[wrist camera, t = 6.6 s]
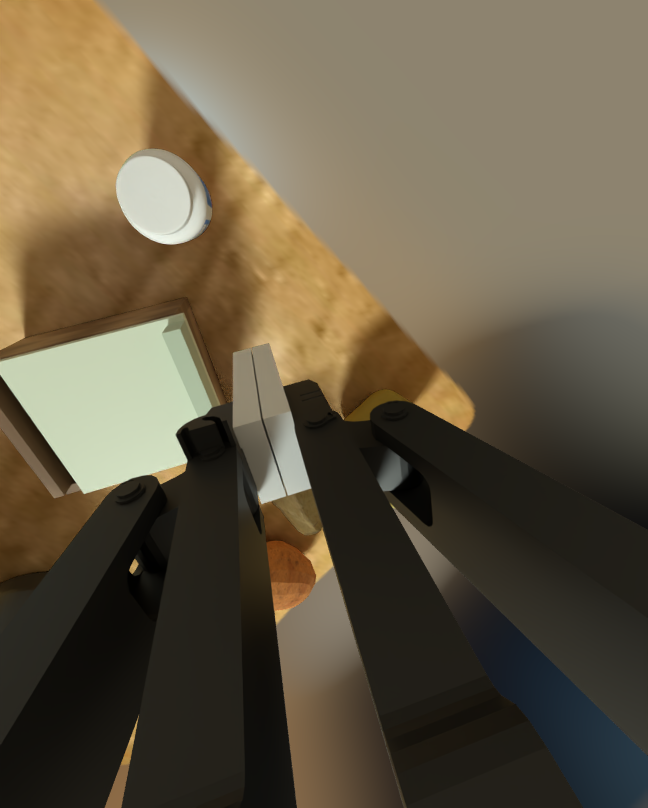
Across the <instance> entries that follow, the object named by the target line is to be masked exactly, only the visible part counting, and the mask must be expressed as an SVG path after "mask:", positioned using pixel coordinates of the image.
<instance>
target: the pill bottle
mask: <svg viewBox="0 0 648 808" xmlns="http://www.w3.org/2000/svg"><path fill="white" fill-rule="evenodd" d="M116 193H117V198H118V201H119V204H120V206H121V209H122V211H123V213H124V215H125V216H126V218H127V219H128V221H129V222H130V223H131V225H132V226H133V227H134V228H135V229H136V230H137V231H139V232H140V233H141V234H142V235H144V236H145V237H147V238H149V239H151V240H153V241H155V242H158V243H162V244H180V243H184V242H187V241H190V240H192V239H195V238H197V237H199V236H200V235H201V234H202V233H203V232H204V231H205V230H206V229H207V227H208V225H209V223H210V221H211V217H212V200H211V196H210V194H209V191H208V189H207V187H206V185H205V184H204V182H203V181H202V180H201V178H200V177H199V176H198V174H197V173H196V172H195V171H194V170H193V168H192V167H191V166H190V165H189V164H188V163H186V162H185V161H184V160H183V159H181V158H180V157H178V156H177V155H175V154H173V153H171V152H168V151H165V150H161V149H144V150H141V151H138V152H136V153H134V154H133V155H131V156H130V157H129V158H128V159H127V160H126V161H125V163H124V164H123V165H122V167H121V169H120V171H119V173H118V176H117V181H116Z"/></svg>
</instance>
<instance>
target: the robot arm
mask: <svg viewBox="0 0 648 808" xmlns="http://www.w3.org/2000/svg"><path fill="white" fill-rule="evenodd" d="M252 352H253V354H252ZM175 435H176V437H177V439H178V442H179V444H180V446H181V448H182V450H183V452H184V454H185V456H186V458H187V465H186V471H185V472H184V473H182V474H180V475H179V476H177V477H175V478H173V479H171V480H169V481H167V482H165V483H163V484H161V485H160V483H159V481H158V479H157V478H156V477H154V476H152V475H143V476H139V477H136V478H131V479H129V480H128V481H125V482H123V483H121V484H120V485H119V486H118V487H116V488H115V489H113V490H112V491H111V492H110V493H109V494H108V495H107V496H106V497H105V499H104V500H103V501H102V503H101V504H100V505H99V507H98V508H97V509H96V510H95V512H94V513H93V514H92V516H91V517H90V518H89V520H88V521H87V522H86V523H85V525H84V526H83V527H82V529H81V530H80V531H79V533H78V534H77V535H76V537H75V538H74V539H73V540H72V542H71V543H70V544H69V546H68V547H67V548H66V550H65V551H64V552H63V553H62V555H61V556H60V557H59V559H58V560H57V561H56V563H55V564H54V565H53V567H52V568H51V569H50V570H49V572H41V573H32V574H27V575H22V576H19V577H15V578H12V579H9V580H7V581H5V582H3V583H1V584H0V808H105V805H106V802H107V799H108V797H109V794H110V792H111V789H112V786H113V783H114V781H115V778H116V775H117V772H118V770H119V767H120V765H121V762H122V759H123V756H124V754H125V751H126V748H127V746H128V743H129V740H130V737H131V735H132V732H133V729H134V727H135V724H136V721H137V719H138V723H137V729H136V734H135V739H134V744H133V750H132V755H131V760H130V766H129V771H128V776H127V781H126V787H125V792H124V797H123V802H122V808H297V805H296V797H295V788H294V779H293V770H292V762H291V753H290V744H289V735H288V726H287V718H286V710H285V701H284V692H283V683H282V675H281V666H280V657H279V648H278V640H277V631H276V622H275V613H274V604H273V595H272V587H271V578H270V569H269V561H268V552H267V543H266V534H265V526H264V517H263V514H262V511H261V508H260V506H259V503H258V496H259V498H260V501H261V504H263V503H266V502H270V501H273V500H276V499H279V498H282V497H285V496H286V492H285V488H286V491H287V494H288V496H289V495H292V494H295V493H298V492H301V491H305V490H308V489H311V490H312V493H313V497H314V500H315V504H316V507H317V511H318V515H319V518H320V521H321V524H322V528H323V531H324V535H325V538H326V542H327V545H328V548H329V552H330V555H331V559H332V562H333V566H334V569H335V572H336V576H337V579H338V583H339V586H340V590H341V593H342V596H343V600H344V603H345V607H346V610H347V613H348V617H349V620H350V624H351V627H352V631H353V634H354V638H355V640H356V644H357V648H358V651H359V655H360V658H361V661H362V665H363V669H364V672H365V675H366V679H367V682H368V686H369V689H370V692H371V696H372V699H373V703H374V706H375V710H376V713H377V716H378V720H379V723H380V727H381V730H382V734H383V737H384V741H385V744H386V747H387V751H388V754H389V758H390V761H391V765H392V768H393V771H394V775H395V778H396V782H397V785H398V788H399V792H400V795H401V799H402V802H403V806H404V808H583V807H582V805H581V803H580V802H579V800H578V798H577V797H576V795H575V793H574V792H573V790H572V788H571V787H570V785H569V783H568V782H567V780H566V778H565V777H564V775H563V774H562V772H561V770H560V768H559V767H558V765H557V764H556V762H555V760H554V758H553V757H552V755H551V753H550V752H549V750H548V748H547V747H546V745H545V744H544V742H543V741H542V739H541V738H540V736H539V735H538V733H537V732H536V730H535V729H534V727H533V726H532V724H531V723H530V721H529V720H528V719H527V717H526V716H525V715H524V714H523V713H522V711H521V710H520V709H519V708H518V707H517V706H516V704H514V703H513V702H511V701H510V700H508V699H506V698H505V697H503V696H501V694H500V693H499V692H498V691H497V690H496V688H495V687H494V686H493V684H492V682H491V681H490V680H489V678H488V676H487V674H486V673H485V671H484V669H483V667H482V666H481V664H480V662H479V660H478V658H477V657H476V655H475V654H474V651H473V650H472V648H471V646H470V644H469V643H468V641H467V639H466V637H465V635H464V634H463V632H462V630H461V628H460V627H459V625H458V623H457V621H456V620H455V618H454V617H453V614H452V612H451V611H450V609H449V607H448V605H447V604H446V602H445V600H444V598H443V596H442V595H441V593H440V592H439V589H438V588H437V586H436V584H435V582H434V581H433V579H432V577H431V575H430V573H429V572H428V570H427V568H426V566H425V565H424V563H423V561H422V560H421V558H420V556H419V554H418V552H417V551H416V549H415V547H414V545H413V543H412V542H411V540H410V538H409V536H408V534H407V533H406V531H405V529H404V527H403V526H402V524H401V522H400V521H399V519H398V517H397V515H396V513H395V512H394V510H393V508H392V506H391V504H392V505H393V506H394V507H395V508H396V509H397V510H398V511H399V512H400V513H401V514H402V515H403V516H404V517H405V518H406V519H407V520H408V521H409V522H410V523H411V524H412V525H413V526H414V527H415V528H416V529H417V530H418V531H419V532H420V533H421V534H422V535H423V536H424V537H425V538H426V539H427V540H428V541H430V542H431V544H432V545H433V546H435V548H436V549H437V550H438V551H439V552H441V553H442V554H443V555H444V556H445V557H446V558H447V559H448V560H449V561H450V562H451V563H452V564H453V565H454V566H455V567H456V568H457V569H458V570H459V571H460V572H461V573H462V574H463V575H464V576H465V577H466V578H467V579H468V580H469V581H470V582H471V583H472V584H473V585H474V586H475V587H476V588H477V589H478V590H479V591H480V592H481V593H482V594H483V595H484V596H485V597H486V598H487V599H488V600H489V601H490V602H492V604H494V605H495V606H496V607H497V608H498V609H499V610H500V611H501V612H502V613H503V614H504V615H505V616H506V617H507V618H508V619H509V620H510V621H511V622H512V623H513V624H514V625H515V626H516V627H517V628H518V629H519V630H520V631H521V632H522V633H523V634H524V635H525V636H526V637H527V638H528V639H529V640H530V641H531V642H532V643H533V644H534V645H535V646H536V647H537V648H538V649H539V650H540V651H541V652H542V653H543V654H544V655H545V656H547V657H548V658H549V659H550V660H551V661H552V662H553V663H554V664H555V665H556V666H557V667H558V668H559V669H560V670H561V671H562V672H563V673H564V674H565V675H566V676H567V677H568V678H569V679H570V680H571V681H572V682H573V683H574V684H575V685H576V686H577V687H578V688H579V689H580V690H581V691H582V692H583V693H584V694H585V695H586V696H588V698H589V699H590V700H591V701H592V702H593V703H595V705H596V706H597V707H598V708H600V709H601V710H602V711H603V712H604V713H605V714H606V715H607V716H608V717H609V718H610V719H611V720H612V721H613V722H614V723H615V724H616V725H617V726H618V727H619V728H620V729H621V730H622V731H623V732H624V733H625V734H626V735H627V736H628V737H629V738H630V739H631V740H632V741H633V742H634V743H635V744H636V745H637V746H638V747H639V748H640V749H642V751H643V752H644V753H645V754H646V755H647V756H648V530H646V529H645V528H643V527H641V526H639V525H637V524H636V523H633V522H632V521H630V520H628V519H626V518H624V517H623V516H621V515H619V514H617V513H615V512H613V511H612V510H610V509H608V508H606V507H604V506H602V505H600V504H599V503H597V502H595V501H593V500H591V499H589V498H587V497H586V496H583V495H582V494H580V493H578V492H576V491H574V490H573V489H571V488H569V487H567V486H565V485H563V484H561V483H560V482H558V481H556V480H554V479H552V478H550V477H549V476H547V475H545V474H543V473H541V472H539V471H537V470H536V469H534V468H532V467H530V466H528V465H526V464H525V463H523V462H521V461H519V460H517V459H515V458H513V457H511V456H510V455H508V454H506V453H504V452H502V451H501V450H499V449H496V448H495V447H493V446H491V445H489V444H488V443H486V442H484V441H482V440H480V439H478V438H476V437H475V436H473V435H471V434H469V433H467V432H465V431H463V430H462V429H460V428H458V427H456V426H454V425H452V424H451V423H449V422H447V421H445V420H443V419H441V418H439V417H438V416H436V415H434V414H432V413H430V412H428V411H426V410H425V409H423V408H421V407H419V406H417V405H415V404H413V403H410V402H407V401H399V400H395V401H388V402H386V403H383V404H380V405H378V406H376V407H375V408H373V410H372V411H371V412H370V420H366V421H345V420H343V419H342V418H341V416H340V415H339V414H338V413H337V412H336V411H332V409H331V408H330V406H329V404H328V402H327V400H326V399H325V397H324V396H323V393H322V391H321V390H320V388H319V386H318V384H317V383H315V382H313V381H311V380H309V379H308V380H305V381H301V382H298V383H294V384H291V385H287V386H283V385H282V382H281V379H280V376H279V373H278V370H277V367H276V363H275V360H274V357H273V354H272V351H271V348H270V345H269V343H268V344H264V345H260V346H256V347H252V351H251V348H249V349H245V350H241V351H237V352H233V402H230V403H226V404H223V405H219V406H216V407H212V408H211V409H210V410H209V411H208V413H207V414H206V415H204V416H201V417H198V418H195V419H193V420H191V421H189V422H187V423H186V424H184V425H183V426H182V427H181V428H180V429H178V431H177V433H176V434H175ZM284 485H285V487H284ZM389 502H390V503H391V504H390V503H389ZM134 559H136V560H137V562H138V563H139V565H138V567H137V569H136V570H135V572H134V573H133V574H131V573H130V571H129V569H130V566H131V564H132V562H133V561H134ZM138 716H139V718H138Z"/></svg>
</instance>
